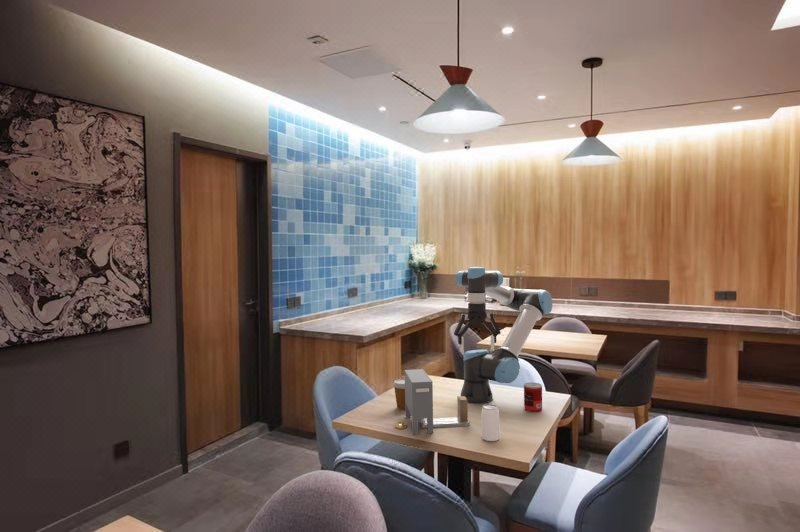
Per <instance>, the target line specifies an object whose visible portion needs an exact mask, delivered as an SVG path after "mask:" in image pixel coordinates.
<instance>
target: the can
mask: <svg viewBox="0 0 800 532" xmlns="http://www.w3.org/2000/svg"><path fill="white" fill-rule="evenodd" d="M481 439H483V441H486V442H497V441H499V440H500V410H499V407H498V405H496V404H490V403H487V404H483V405H482V408H481Z"/></svg>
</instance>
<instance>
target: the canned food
mask: <svg viewBox="0 0 800 532" xmlns="http://www.w3.org/2000/svg"><path fill="white" fill-rule="evenodd" d="M523 396H524V397H523V406H524V410H525V411H527V412H530V413H531V412H532V413H539V412H541V411H542V410H543V385H542V383H538V382H533V381H532V382H525V383H524V384H523Z"/></svg>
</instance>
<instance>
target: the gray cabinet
mask: <svg viewBox="0 0 800 532" xmlns="http://www.w3.org/2000/svg"><path fill="white" fill-rule="evenodd" d="M404 379H405V410H404V412H405V413H404V415H405V416H406V417H405V418H406V419H411V433H412V435H419V427H418V426H419V424H418V423H419V419H427V428H426V432H427V434H433V433H434V428H433V418H434V395H433V389H434V388H433V387H434V386H433V380H432V379H431V378H430V377H429V375H428V374H427V372H426V371H425V369H423V368H422V369H420V368H418V369H417V368H416V369H405V370H404Z"/></svg>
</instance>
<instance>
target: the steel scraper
mask: <svg viewBox="0 0 800 532" xmlns="http://www.w3.org/2000/svg"><path fill="white" fill-rule="evenodd" d="M456 397H457V417H455V416H453V417H436V418H435V417H433V427H435V428H452V427H451V426H455V427H469V426H470V423H471V422H470V421H469V417H468V415H469V413H468V412H469V411H468V407H469V406H468V403H469V402H468V400H467V398H466V397H465V396H461V395H458V396H456ZM419 419H420V420H419V421H420V422H421V423H420V424H421V427H422V429H427V418H419Z"/></svg>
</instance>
